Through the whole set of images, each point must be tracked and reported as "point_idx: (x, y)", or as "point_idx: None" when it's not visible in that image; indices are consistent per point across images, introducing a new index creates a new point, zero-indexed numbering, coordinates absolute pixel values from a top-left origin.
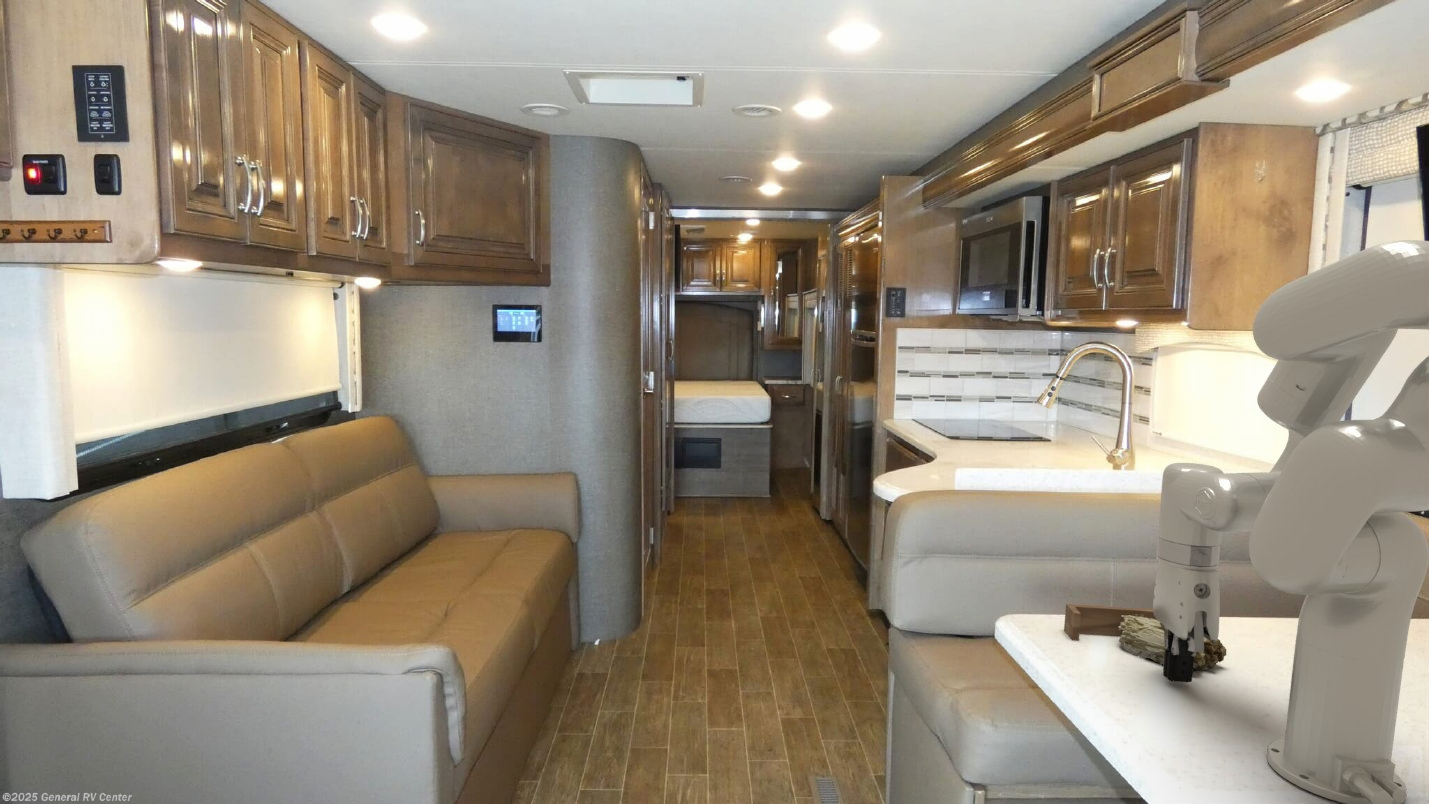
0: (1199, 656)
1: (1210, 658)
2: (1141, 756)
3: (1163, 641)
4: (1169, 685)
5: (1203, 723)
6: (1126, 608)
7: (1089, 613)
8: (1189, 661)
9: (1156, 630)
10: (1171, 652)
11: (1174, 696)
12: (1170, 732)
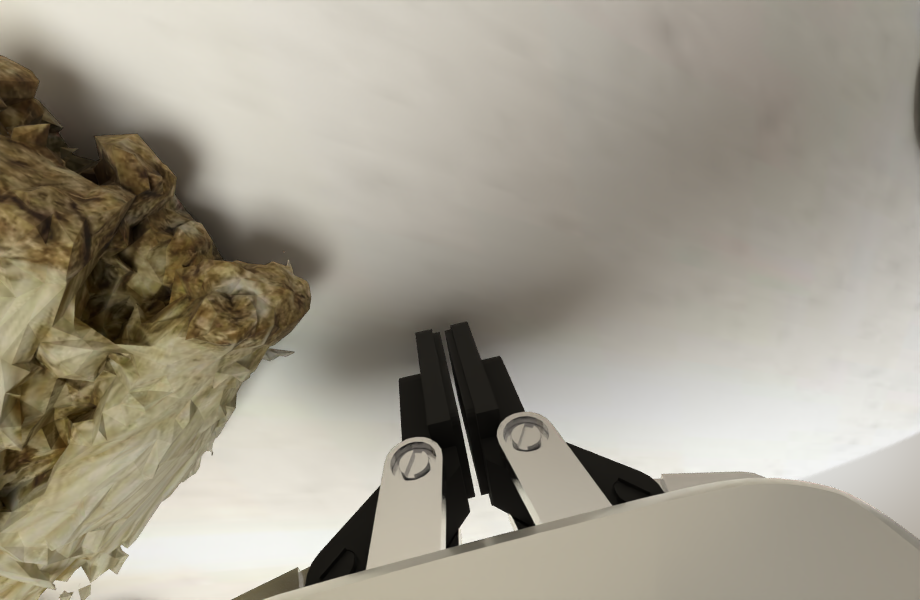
0: (288, 305)
1: (159, 196)
2: (857, 456)
3: (169, 471)
4: None
5: (733, 316)
6: None
7: None
8: (522, 408)
9: (70, 539)
10: (490, 495)
11: (550, 367)
12: (774, 401)
